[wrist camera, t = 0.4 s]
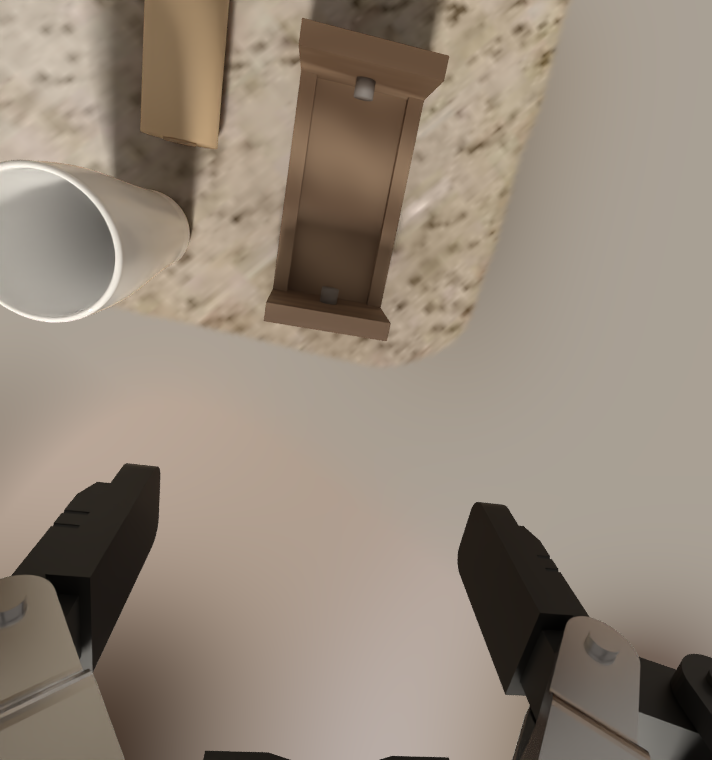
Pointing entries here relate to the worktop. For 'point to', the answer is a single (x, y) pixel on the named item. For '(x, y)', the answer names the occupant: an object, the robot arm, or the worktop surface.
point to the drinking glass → (80, 239)
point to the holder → (347, 177)
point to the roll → (183, 70)
